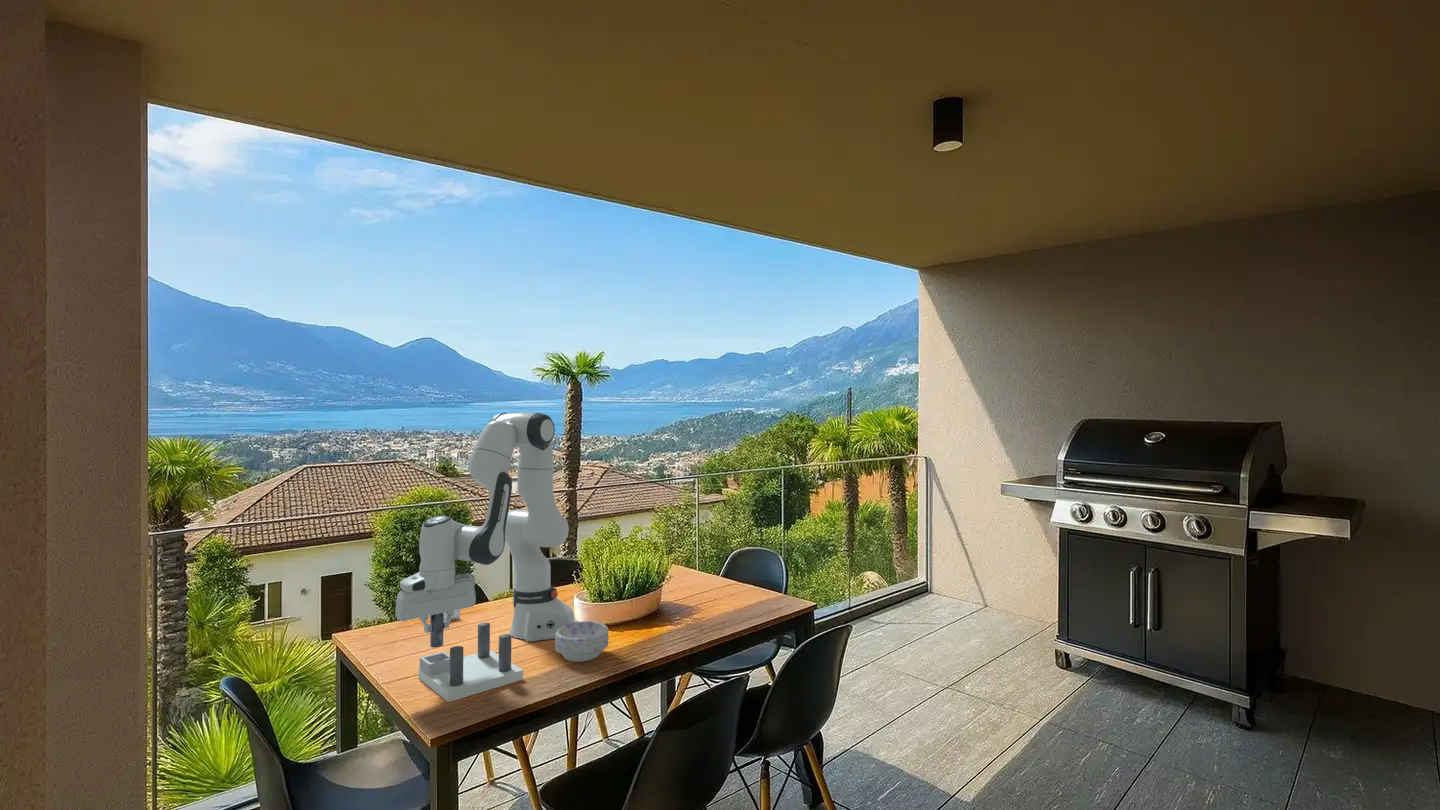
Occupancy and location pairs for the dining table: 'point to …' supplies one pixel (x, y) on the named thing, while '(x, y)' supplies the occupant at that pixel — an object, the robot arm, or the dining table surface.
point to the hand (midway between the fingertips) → (436, 629)
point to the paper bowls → (581, 640)
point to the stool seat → (470, 668)
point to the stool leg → (436, 630)
